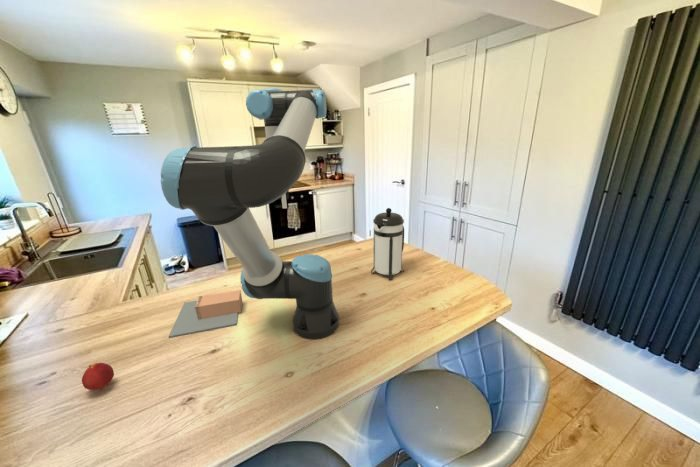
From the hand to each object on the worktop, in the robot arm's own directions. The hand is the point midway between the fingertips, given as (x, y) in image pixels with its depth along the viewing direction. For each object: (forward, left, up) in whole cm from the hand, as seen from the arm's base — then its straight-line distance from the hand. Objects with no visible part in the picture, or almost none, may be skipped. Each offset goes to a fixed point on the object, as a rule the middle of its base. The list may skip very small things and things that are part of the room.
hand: (284, 207), depth 103 cm
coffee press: (+2, -43, -35) cm, 55 cm away
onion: (-33, +51, -35) cm, 70 cm away
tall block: (-7, +19, -31) cm, 37 cm away
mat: (-7, +31, -34) cm, 47 cm away
